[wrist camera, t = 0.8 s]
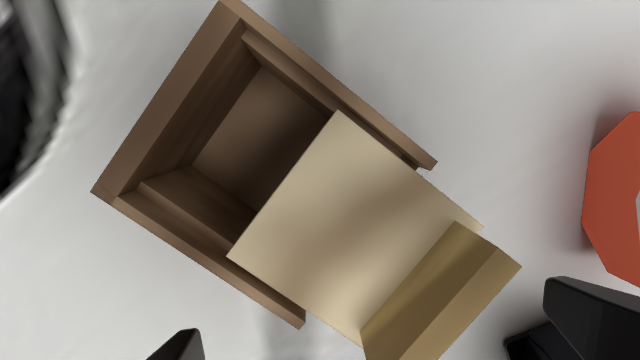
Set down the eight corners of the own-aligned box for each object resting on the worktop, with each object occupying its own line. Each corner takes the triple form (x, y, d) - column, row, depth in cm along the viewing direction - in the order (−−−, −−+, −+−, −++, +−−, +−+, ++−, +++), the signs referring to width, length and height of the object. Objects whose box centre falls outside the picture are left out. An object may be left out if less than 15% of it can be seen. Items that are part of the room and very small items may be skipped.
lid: (473, 220, 15) (535, 255, 11) (368, 342, 16) (389, 416, 12) (335, 110, 14) (347, 103, 10) (231, 248, 15) (201, 294, 11)
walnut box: (387, 148, 21) (437, 161, 13) (302, 255, 23) (298, 329, 14) (260, 46, 20) (226, -11, 12) (175, 166, 21) (89, 191, 13)
